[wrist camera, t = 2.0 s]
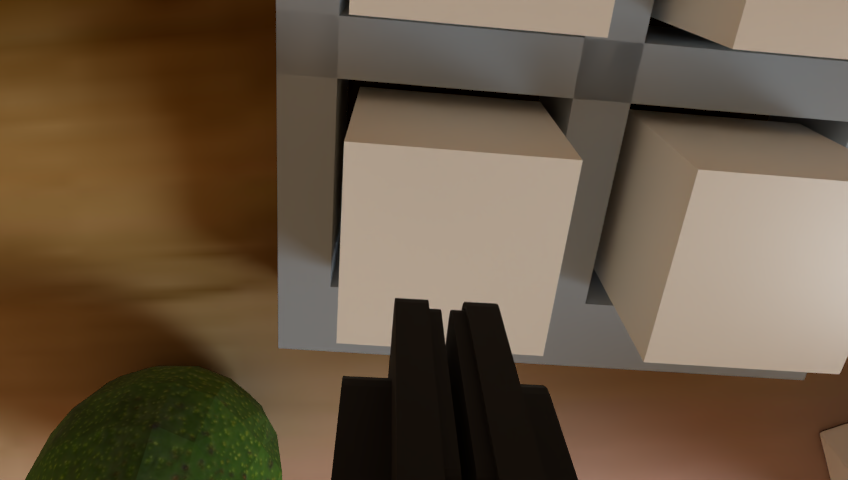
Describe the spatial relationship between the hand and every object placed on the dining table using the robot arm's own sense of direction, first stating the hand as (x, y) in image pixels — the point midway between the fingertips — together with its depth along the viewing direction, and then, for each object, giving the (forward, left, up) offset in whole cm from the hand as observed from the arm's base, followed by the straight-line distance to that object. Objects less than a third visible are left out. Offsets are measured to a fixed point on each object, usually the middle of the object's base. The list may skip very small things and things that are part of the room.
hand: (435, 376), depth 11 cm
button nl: (-8, 0, -9) cm, 12 cm away
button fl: (-1, 0, -9) cm, 9 cm away
